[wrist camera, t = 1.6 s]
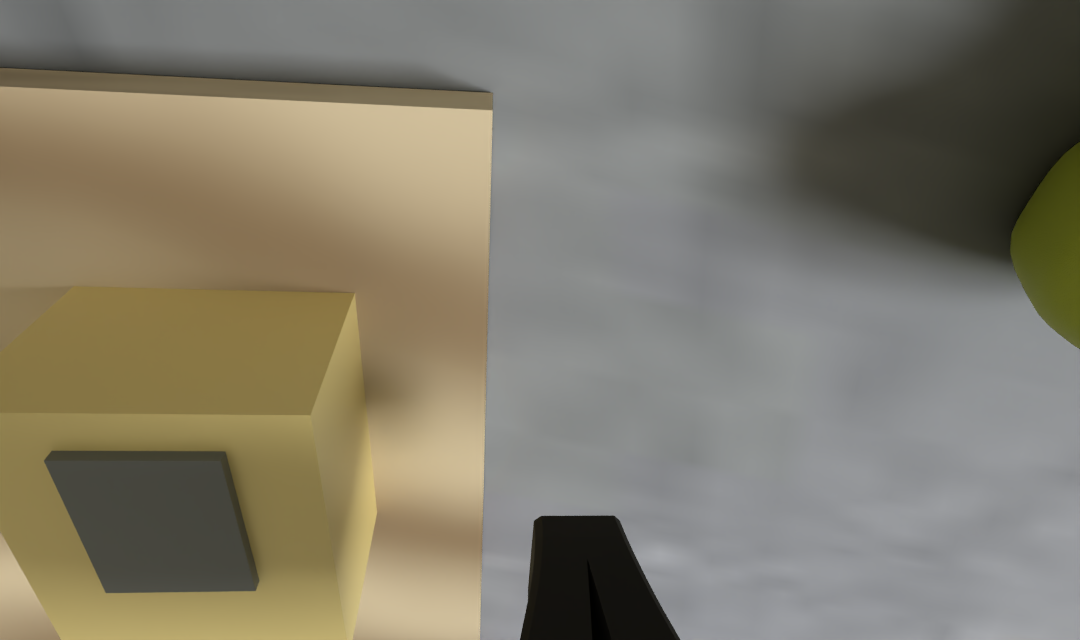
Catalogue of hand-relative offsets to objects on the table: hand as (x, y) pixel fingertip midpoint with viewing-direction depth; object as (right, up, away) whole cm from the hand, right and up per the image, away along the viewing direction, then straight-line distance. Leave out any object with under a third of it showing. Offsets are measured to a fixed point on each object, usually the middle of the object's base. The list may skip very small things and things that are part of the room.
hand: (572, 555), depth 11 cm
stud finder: (-7, +2, +3) cm, 7 cm away
